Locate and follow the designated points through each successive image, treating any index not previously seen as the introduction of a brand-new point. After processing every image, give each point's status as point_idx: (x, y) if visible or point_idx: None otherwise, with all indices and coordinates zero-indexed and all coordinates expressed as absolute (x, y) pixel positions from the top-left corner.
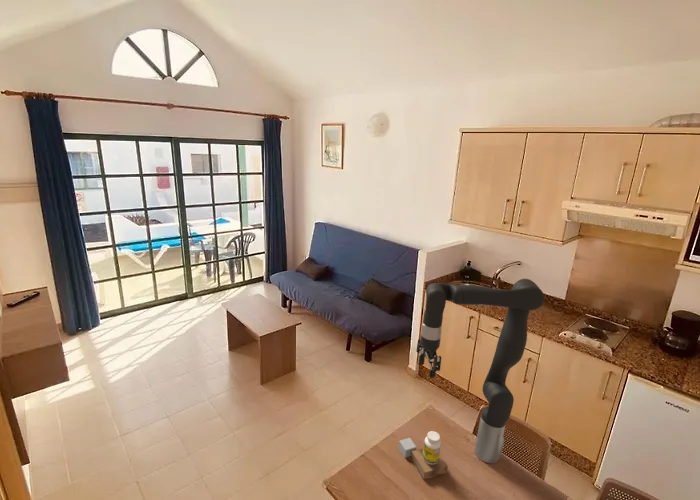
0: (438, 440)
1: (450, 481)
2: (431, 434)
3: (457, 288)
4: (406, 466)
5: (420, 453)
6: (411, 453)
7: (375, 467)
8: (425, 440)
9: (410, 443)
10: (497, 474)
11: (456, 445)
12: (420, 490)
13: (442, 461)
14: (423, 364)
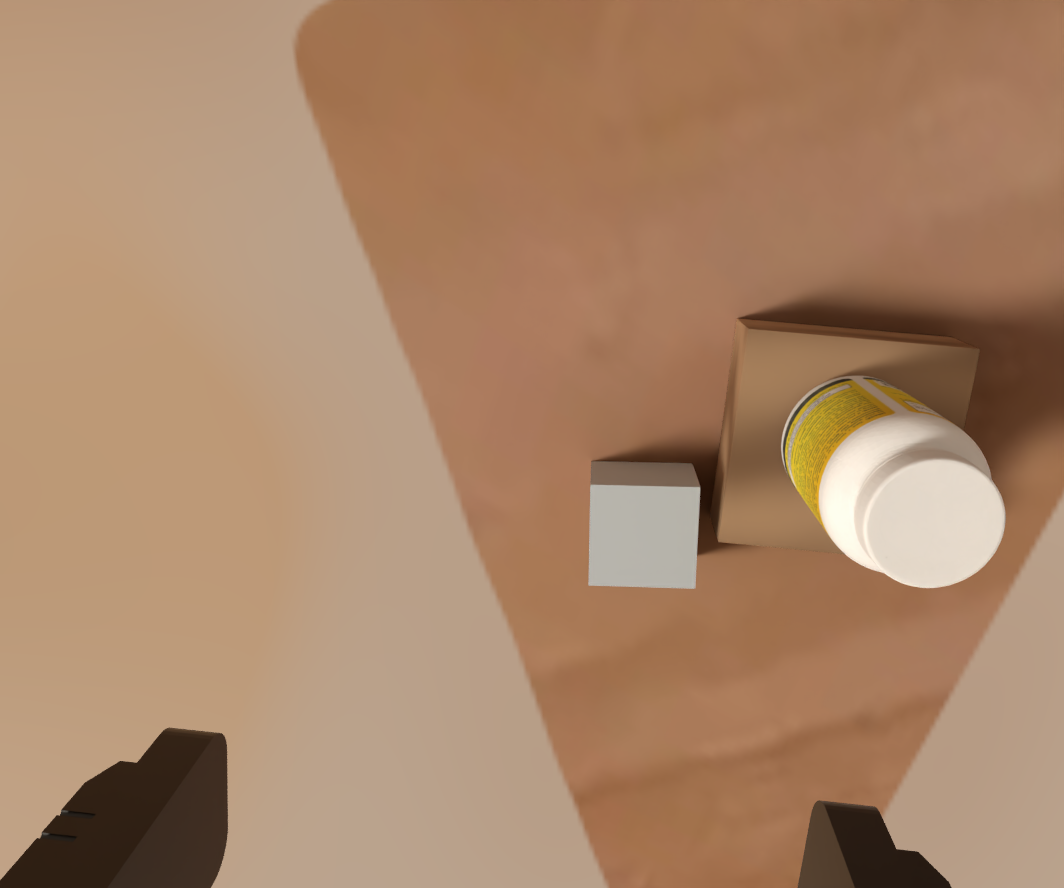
0: (1002, 506)
1: (1020, 351)
2: (908, 537)
3: None
4: (759, 584)
5: (768, 487)
6: (716, 534)
7: (676, 779)
8: (869, 565)
9: (650, 514)
10: None
11: (757, 54)
12: (970, 599)
13: (919, 360)
14: (220, 736)
